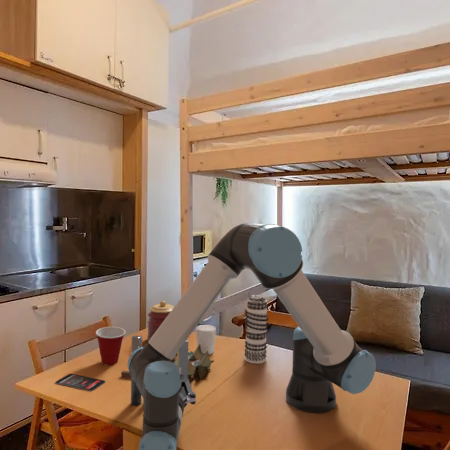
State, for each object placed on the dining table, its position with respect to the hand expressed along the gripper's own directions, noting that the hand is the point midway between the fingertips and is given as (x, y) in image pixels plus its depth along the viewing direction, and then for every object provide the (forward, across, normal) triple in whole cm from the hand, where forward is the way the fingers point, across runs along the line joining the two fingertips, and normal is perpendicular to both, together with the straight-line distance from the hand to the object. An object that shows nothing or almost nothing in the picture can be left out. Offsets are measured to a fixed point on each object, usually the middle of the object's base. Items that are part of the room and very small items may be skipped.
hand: (178, 371), depth 113 cm
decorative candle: (+33, +26, -9) cm, 43 cm away
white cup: (+40, +6, -9) cm, 41 cm away
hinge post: (-2, -12, -9) cm, 15 cm away
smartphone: (+10, -34, -10) cm, 36 cm away
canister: (+52, -13, -9) cm, 54 cm away
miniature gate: (+22, -5, -10) cm, 25 cm away
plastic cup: (+27, -29, -9) cm, 41 cm away
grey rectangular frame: (0, -3, -9) cm, 10 cm away
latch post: (+4, 0, -9) cm, 10 cm away
